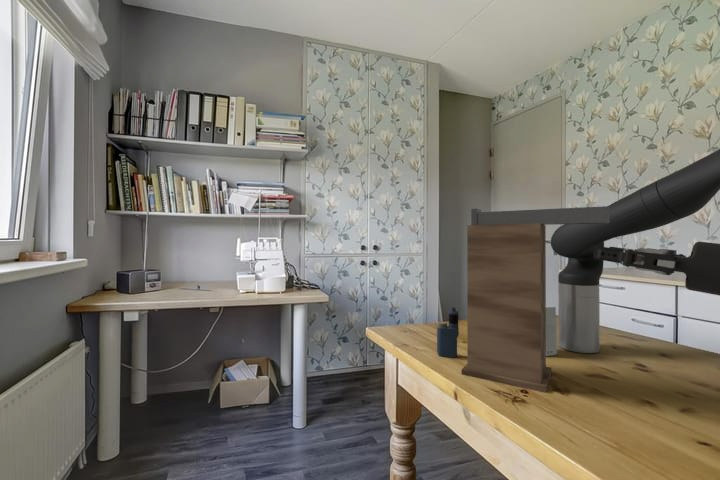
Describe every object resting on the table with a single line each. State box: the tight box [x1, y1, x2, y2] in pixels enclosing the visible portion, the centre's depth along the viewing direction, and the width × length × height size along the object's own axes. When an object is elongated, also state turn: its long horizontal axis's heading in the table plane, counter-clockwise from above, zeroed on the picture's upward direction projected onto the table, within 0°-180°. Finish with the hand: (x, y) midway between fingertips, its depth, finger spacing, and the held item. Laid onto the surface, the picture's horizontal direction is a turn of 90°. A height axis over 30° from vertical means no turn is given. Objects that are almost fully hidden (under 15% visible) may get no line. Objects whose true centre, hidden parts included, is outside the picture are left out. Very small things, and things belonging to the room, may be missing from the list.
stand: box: [461, 223, 553, 393], centre depth 74 cm, size 12×16×32 cm
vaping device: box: [436, 307, 460, 358], centre depth 85 cm, size 3×5×12 cm, turn 79°
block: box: [470, 205, 610, 226], centre depth 71 cm, size 4×25×4 cm, turn 56°
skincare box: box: [546, 305, 558, 357], centre depth 88 cm, size 6×4×12 cm
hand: (601, 252), depth 61 cm, fingers open, 8 cm apart
